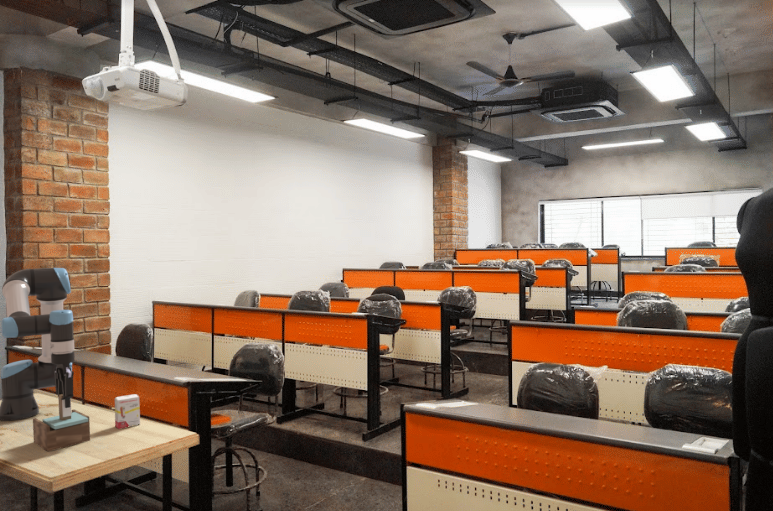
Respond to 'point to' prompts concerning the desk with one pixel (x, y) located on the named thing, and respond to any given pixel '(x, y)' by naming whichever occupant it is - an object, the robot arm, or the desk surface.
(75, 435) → the walnut box
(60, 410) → the lid
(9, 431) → the desk surface
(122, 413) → the ink box
